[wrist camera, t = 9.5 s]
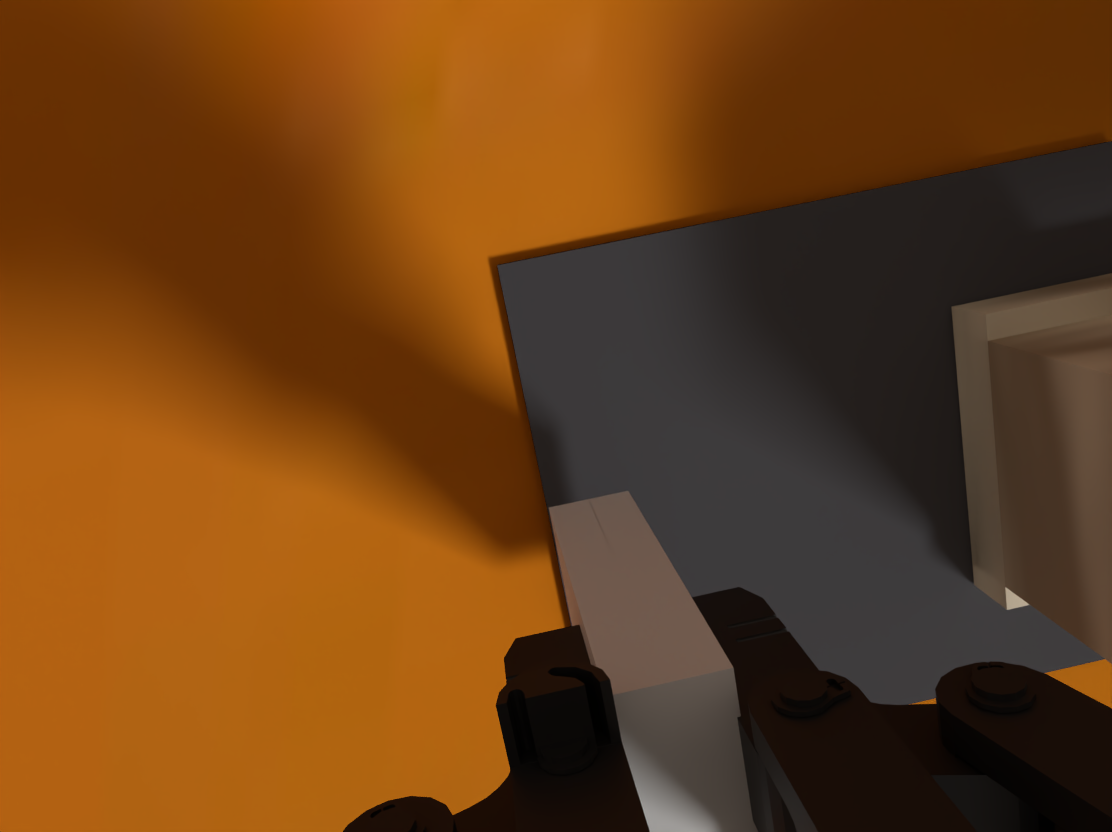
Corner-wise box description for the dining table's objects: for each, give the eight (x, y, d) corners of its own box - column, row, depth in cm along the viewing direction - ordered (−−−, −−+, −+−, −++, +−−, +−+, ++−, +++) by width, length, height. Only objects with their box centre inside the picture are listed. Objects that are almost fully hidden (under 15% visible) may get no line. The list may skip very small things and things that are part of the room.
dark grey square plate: (600, 770, 20) (602, 775, 19) (497, 265, 17) (497, 265, 17) (1127, 649, 20) (1132, 652, 20) (1109, 141, 17) (1114, 141, 17)
